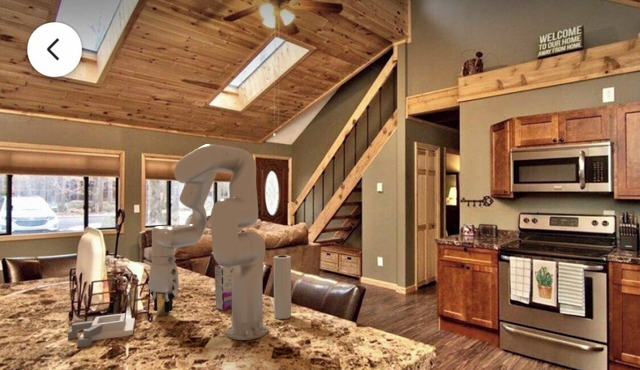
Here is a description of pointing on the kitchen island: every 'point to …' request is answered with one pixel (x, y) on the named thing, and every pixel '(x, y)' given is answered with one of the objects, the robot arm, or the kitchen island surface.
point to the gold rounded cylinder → (161, 304)
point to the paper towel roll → (282, 286)
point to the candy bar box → (223, 287)
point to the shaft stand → (102, 329)
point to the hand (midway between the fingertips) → (163, 310)
